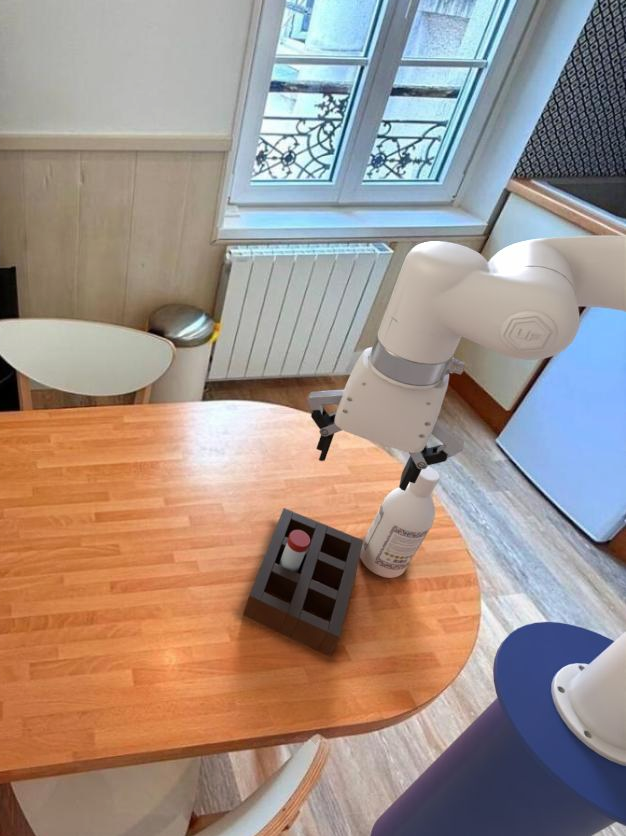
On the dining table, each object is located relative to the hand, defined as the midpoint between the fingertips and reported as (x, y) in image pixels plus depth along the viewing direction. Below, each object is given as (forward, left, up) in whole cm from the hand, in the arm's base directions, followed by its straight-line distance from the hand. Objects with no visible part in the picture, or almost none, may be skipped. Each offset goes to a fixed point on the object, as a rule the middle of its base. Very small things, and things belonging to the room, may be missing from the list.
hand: (362, 468), depth 76 cm
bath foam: (-9, -10, -26) cm, 29 cm away
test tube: (+4, +1, -25) cm, 26 cm away
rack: (+1, +1, -25) cm, 25 cm away
